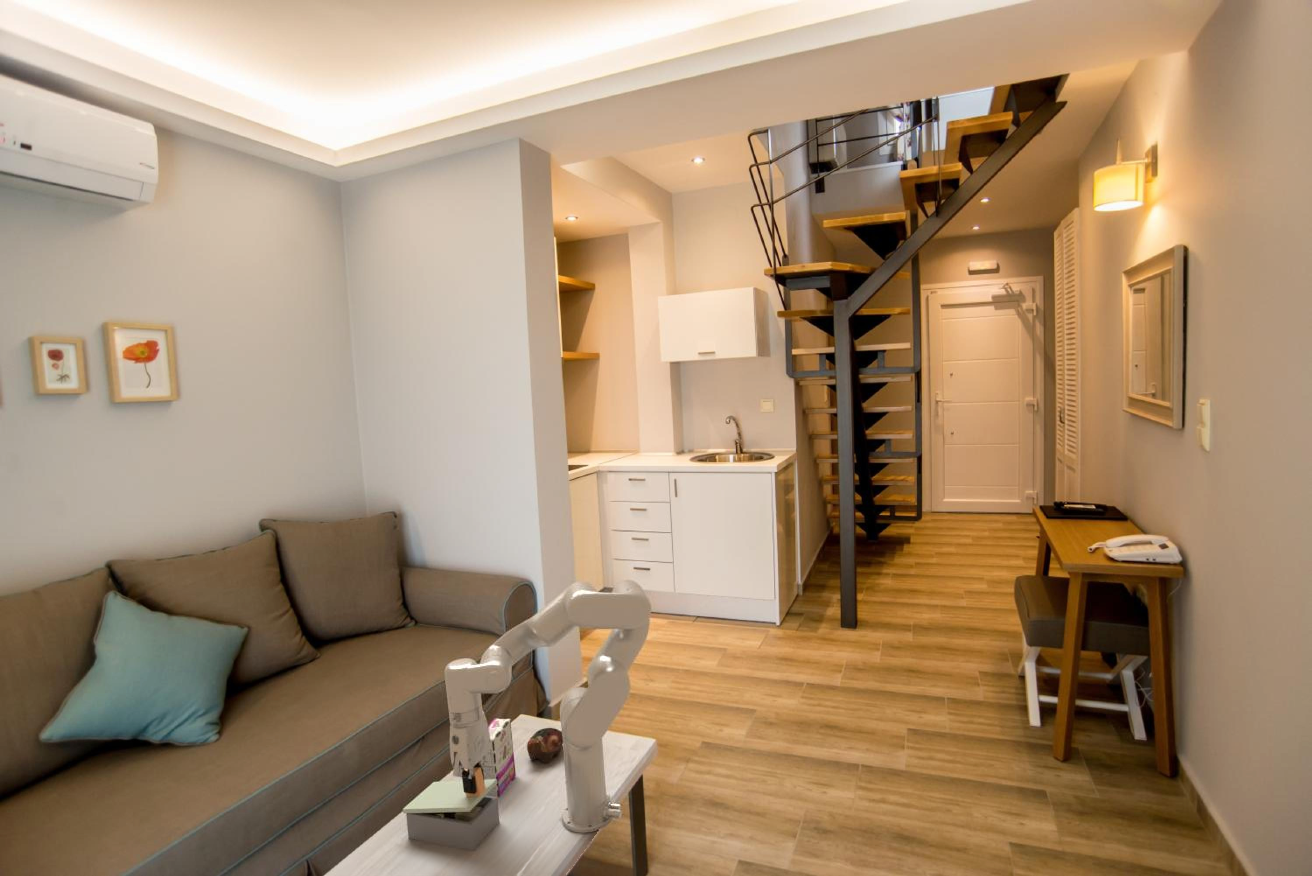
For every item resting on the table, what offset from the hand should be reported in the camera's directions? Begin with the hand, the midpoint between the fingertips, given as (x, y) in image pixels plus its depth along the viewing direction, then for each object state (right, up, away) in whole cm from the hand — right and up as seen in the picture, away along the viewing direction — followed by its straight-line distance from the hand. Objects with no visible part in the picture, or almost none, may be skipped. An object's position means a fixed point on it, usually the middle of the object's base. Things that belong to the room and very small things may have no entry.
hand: (474, 788), depth 162 cm
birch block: (-2, -11, +4) cm, 12 cm away
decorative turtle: (+11, -9, +36) cm, 39 cm away
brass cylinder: (-10, -12, +3) cm, 16 cm away
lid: (-6, -4, +3) cm, 8 cm away
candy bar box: (+1, -11, +21) cm, 24 cm away
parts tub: (-5, -12, +3) cm, 14 cm away
